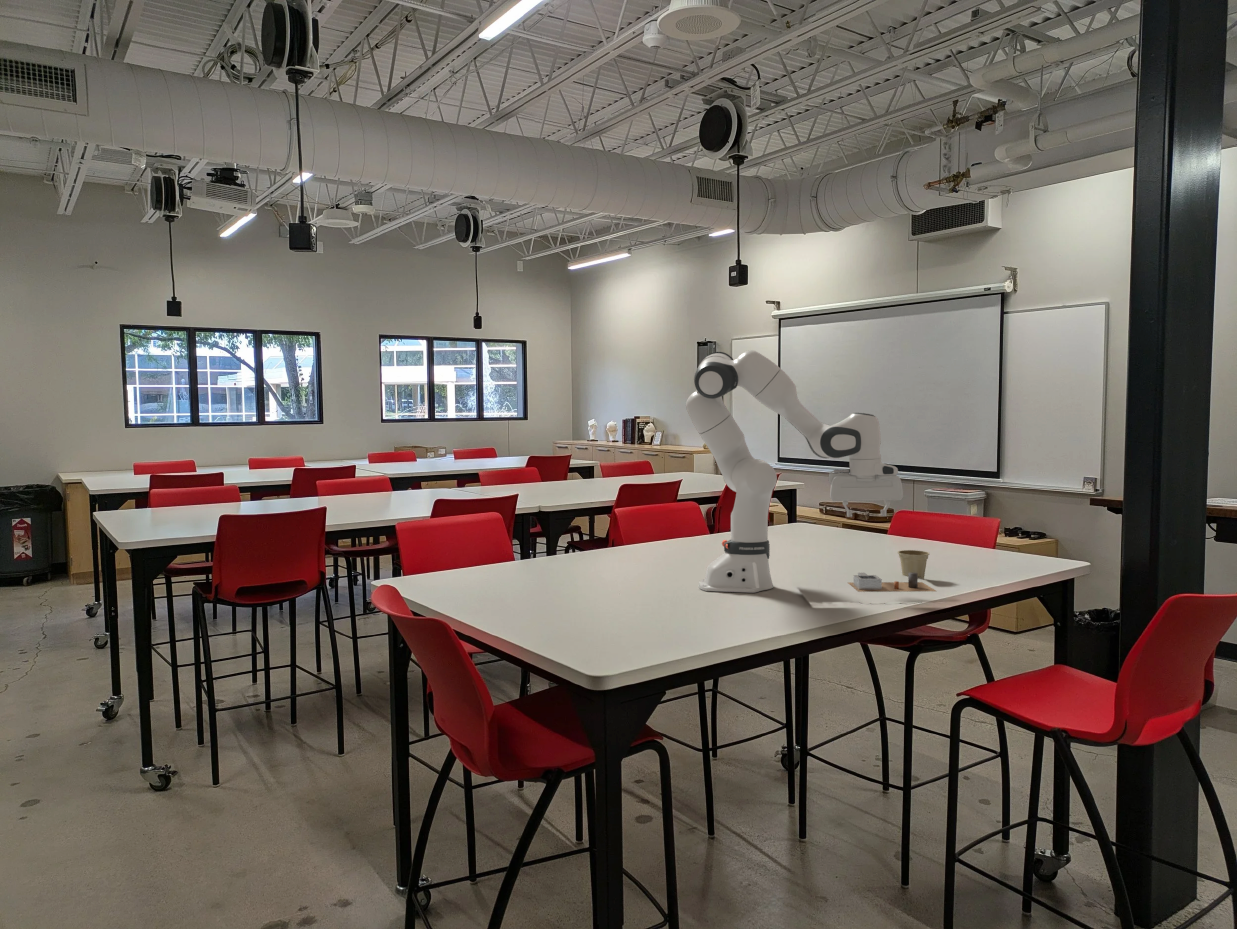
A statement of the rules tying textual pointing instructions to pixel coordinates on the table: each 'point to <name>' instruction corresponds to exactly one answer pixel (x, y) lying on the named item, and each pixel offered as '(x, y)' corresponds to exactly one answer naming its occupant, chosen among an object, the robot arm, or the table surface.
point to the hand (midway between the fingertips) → (866, 516)
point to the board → (900, 585)
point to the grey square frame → (867, 582)
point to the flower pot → (913, 562)
